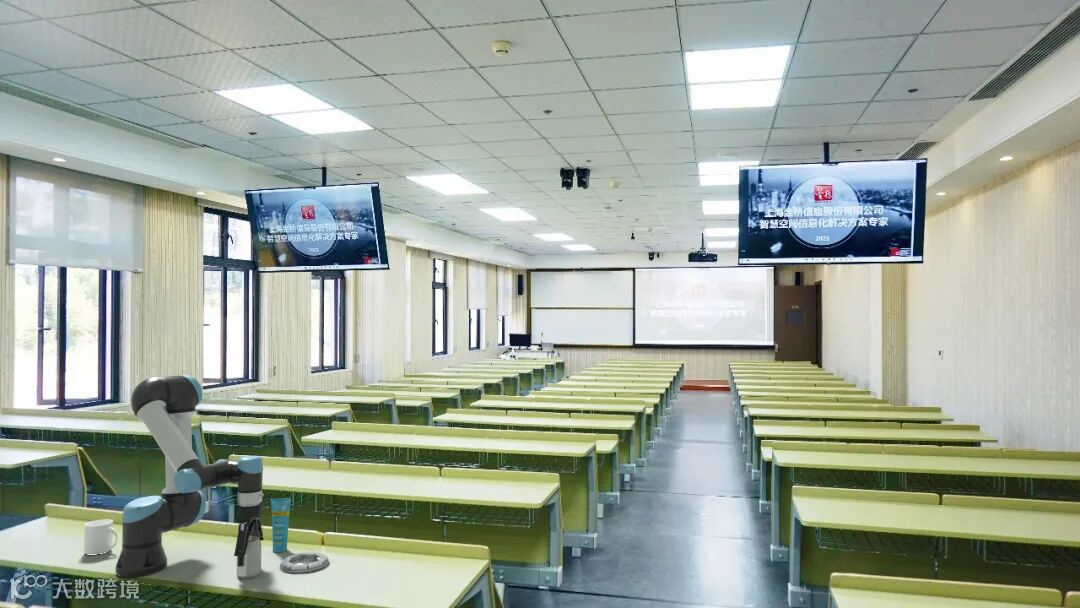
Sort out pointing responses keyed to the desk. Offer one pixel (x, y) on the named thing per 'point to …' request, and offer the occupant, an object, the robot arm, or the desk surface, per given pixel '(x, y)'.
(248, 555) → the can
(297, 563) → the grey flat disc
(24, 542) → the desk surface
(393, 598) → the desk surface
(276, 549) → the tube
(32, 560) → the desk surface
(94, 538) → the mug
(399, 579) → the desk surface
